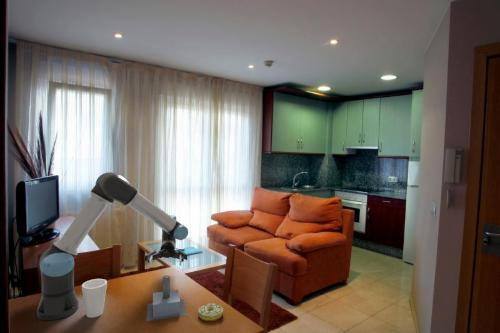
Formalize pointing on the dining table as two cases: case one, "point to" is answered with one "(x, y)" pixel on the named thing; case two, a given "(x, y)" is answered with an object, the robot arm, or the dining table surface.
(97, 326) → the dining table surface
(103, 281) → the foam cup
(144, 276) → the dining table surface
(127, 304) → the dining table surface
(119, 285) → the dining table surface
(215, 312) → the decorated donut
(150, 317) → the mat
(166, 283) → the cover
